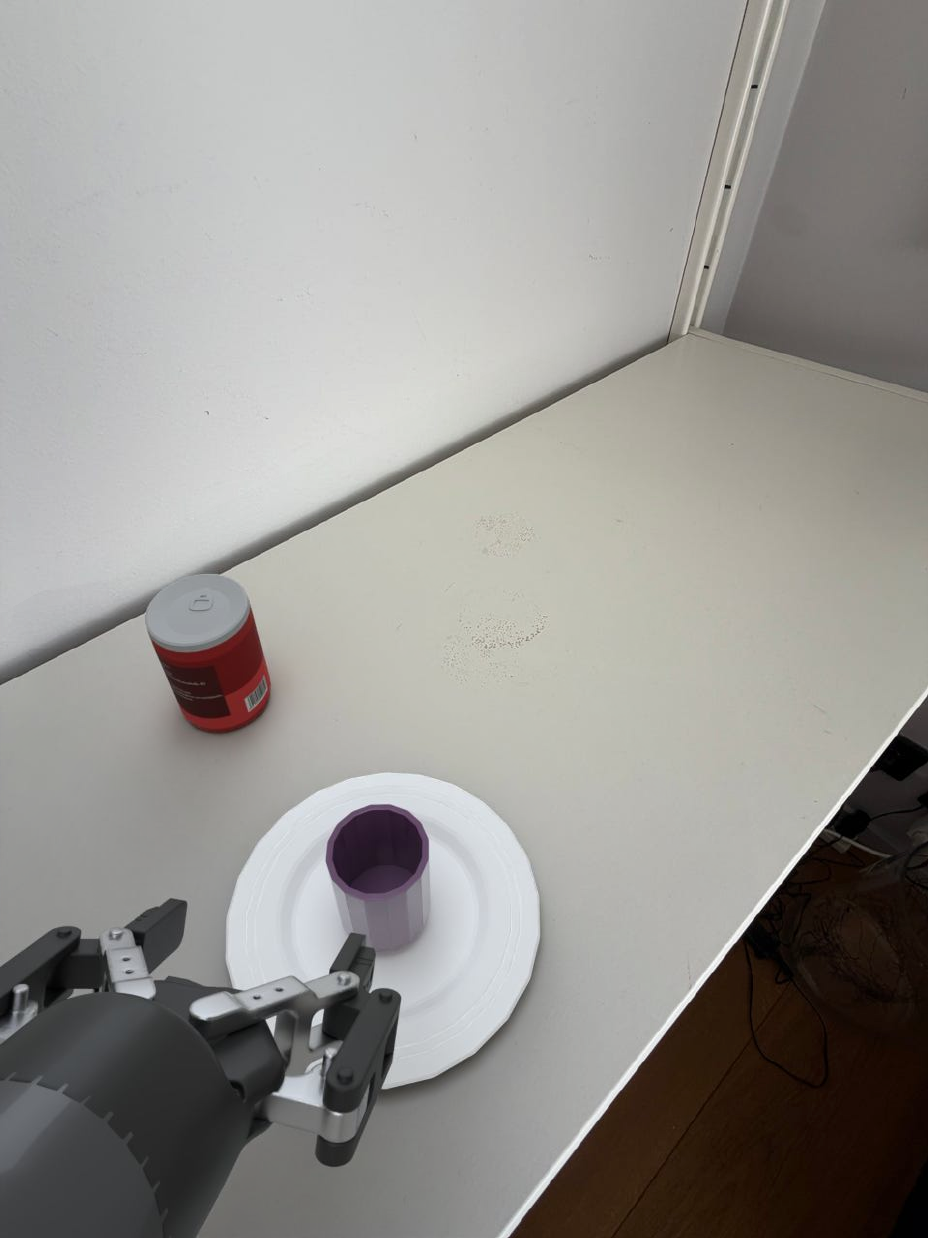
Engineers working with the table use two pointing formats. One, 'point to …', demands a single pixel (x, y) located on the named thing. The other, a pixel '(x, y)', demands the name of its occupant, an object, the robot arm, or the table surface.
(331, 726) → the table surface
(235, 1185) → the table surface
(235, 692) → the canned food
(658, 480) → the table surface
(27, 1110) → the robot arm
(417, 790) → the plate
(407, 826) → the cup
